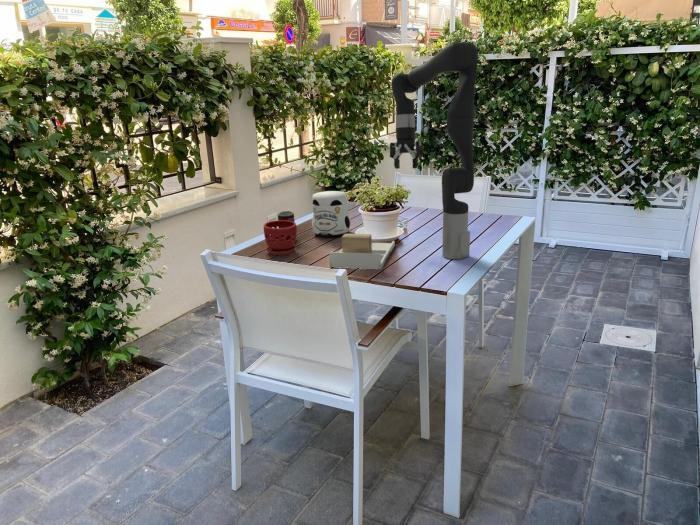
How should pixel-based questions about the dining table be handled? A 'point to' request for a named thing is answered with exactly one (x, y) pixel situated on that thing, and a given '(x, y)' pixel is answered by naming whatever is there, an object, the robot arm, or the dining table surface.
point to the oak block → (357, 243)
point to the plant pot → (280, 237)
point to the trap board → (363, 257)
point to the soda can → (286, 216)
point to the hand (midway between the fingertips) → (406, 168)
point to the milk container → (330, 214)
